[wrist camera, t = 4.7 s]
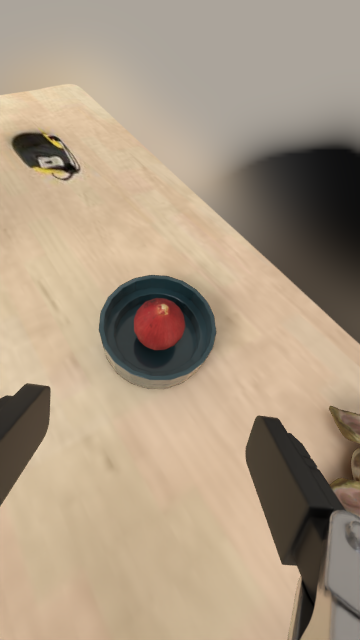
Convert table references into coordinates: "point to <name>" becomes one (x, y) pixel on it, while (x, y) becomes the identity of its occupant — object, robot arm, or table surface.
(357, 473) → the ceramic sculpture
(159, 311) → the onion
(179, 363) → the bowl
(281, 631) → the table surface
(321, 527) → the robot arm
